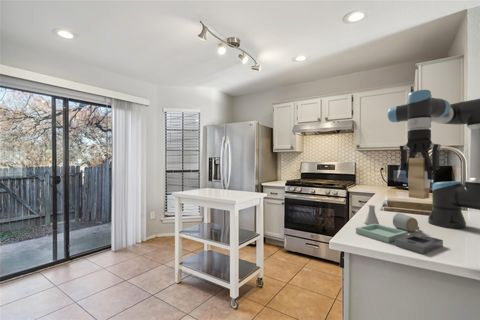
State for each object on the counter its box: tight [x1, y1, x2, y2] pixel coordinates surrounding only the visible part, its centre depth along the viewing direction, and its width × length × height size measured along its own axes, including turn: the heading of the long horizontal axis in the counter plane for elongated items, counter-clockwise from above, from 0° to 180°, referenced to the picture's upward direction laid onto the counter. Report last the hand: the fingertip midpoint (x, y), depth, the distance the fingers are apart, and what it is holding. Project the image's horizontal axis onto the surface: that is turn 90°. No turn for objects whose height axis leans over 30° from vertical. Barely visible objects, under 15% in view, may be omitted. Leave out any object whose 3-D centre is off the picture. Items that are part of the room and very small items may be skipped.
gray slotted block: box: [393, 232, 444, 255], centre depth 94 cm, size 16×10×3 cm, turn 119°
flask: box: [364, 204, 380, 225], centre depth 125 cm, size 7×7×10 cm
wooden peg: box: [408, 157, 430, 200], centre depth 94 cm, size 5×5×16 cm
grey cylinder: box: [392, 212, 420, 233], centre depth 115 cm, size 11×8×8 cm
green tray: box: [355, 223, 409, 244], centre depth 107 cm, size 15×15×2 cm
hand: (418, 186), depth 94 cm, fingers closed on wooden peg, 5 cm apart
